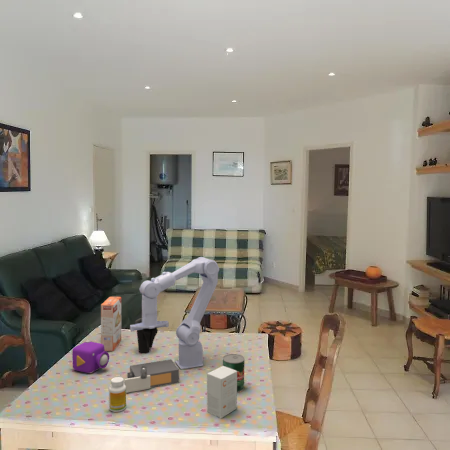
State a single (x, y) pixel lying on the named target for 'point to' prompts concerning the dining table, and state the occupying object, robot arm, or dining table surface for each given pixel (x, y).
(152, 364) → the camera housing
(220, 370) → the small box
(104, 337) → the cracker box
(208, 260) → the robot arm
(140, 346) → the drinking cup
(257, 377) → the dining table surface
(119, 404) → the supplement bottle
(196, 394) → the dining table surface
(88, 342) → the toy camera
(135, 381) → the side door
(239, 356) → the canned tomato
